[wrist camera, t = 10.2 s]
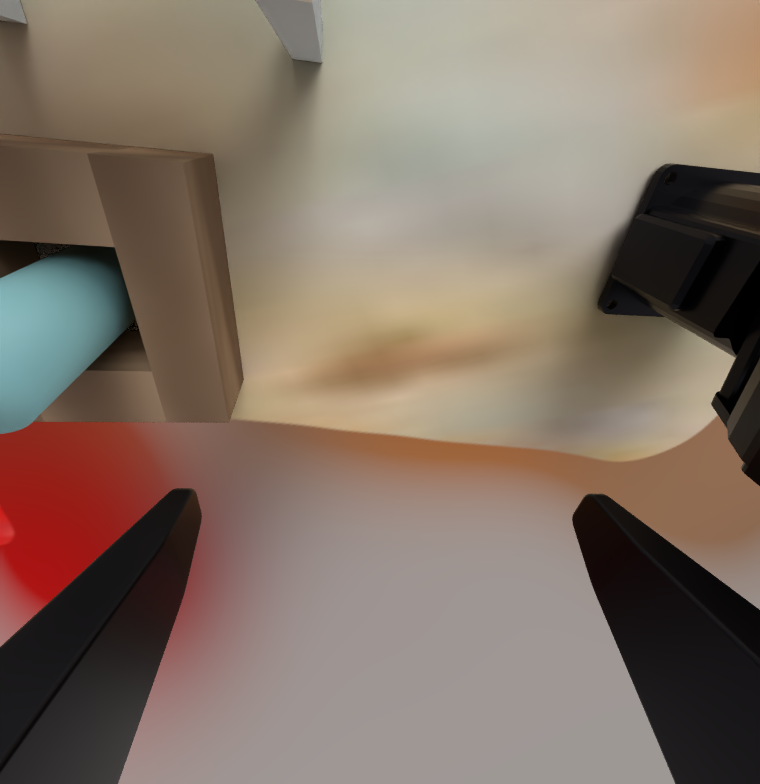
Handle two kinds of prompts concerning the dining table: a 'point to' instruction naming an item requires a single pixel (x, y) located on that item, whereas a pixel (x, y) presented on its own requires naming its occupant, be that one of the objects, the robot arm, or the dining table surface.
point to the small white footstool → (280, 6)
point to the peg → (56, 326)
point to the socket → (134, 272)
